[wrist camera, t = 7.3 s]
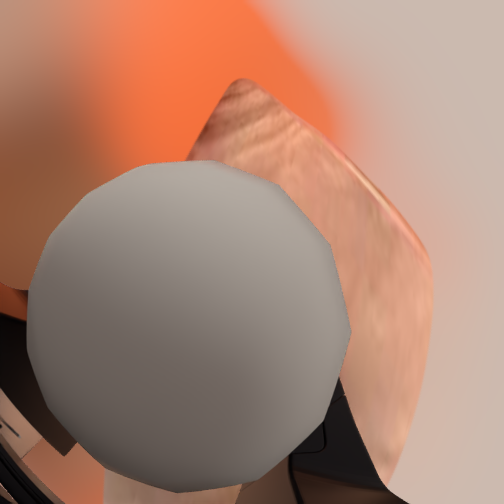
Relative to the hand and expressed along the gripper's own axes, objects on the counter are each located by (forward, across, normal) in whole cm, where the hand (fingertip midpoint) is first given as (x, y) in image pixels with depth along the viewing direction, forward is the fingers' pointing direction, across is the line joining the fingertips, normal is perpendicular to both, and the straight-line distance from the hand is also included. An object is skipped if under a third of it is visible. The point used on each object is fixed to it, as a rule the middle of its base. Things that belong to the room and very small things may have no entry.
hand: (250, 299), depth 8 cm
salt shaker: (+4, 0, +6) cm, 7 cm away
